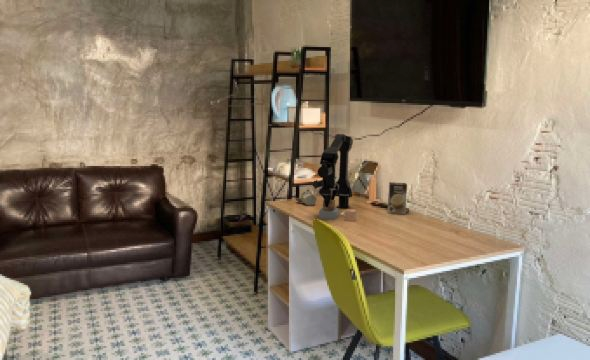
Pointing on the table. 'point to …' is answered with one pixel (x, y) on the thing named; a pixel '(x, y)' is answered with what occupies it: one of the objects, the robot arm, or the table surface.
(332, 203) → the walnut cube
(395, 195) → the coffee box
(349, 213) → the terracotta cube
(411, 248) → the table surface
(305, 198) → the ceramic sculpture
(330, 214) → the grey block
